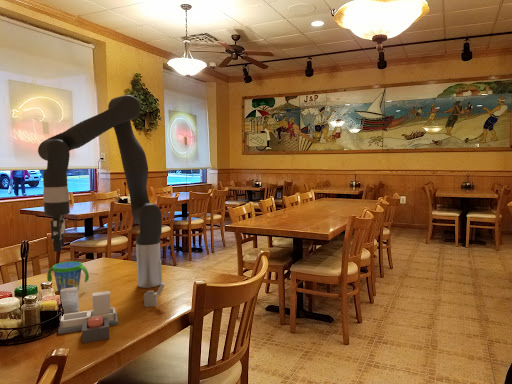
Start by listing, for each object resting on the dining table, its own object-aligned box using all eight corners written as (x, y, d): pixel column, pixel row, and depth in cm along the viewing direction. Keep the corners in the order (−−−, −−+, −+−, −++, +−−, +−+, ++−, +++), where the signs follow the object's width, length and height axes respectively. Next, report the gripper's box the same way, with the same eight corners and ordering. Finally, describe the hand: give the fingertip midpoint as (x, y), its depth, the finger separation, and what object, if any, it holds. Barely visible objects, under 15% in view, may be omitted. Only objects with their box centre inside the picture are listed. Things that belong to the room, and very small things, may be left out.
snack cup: (94, 286, 154) (93, 261, 154) (78, 295, 144) (77, 269, 143) (59, 284, 157) (58, 260, 156) (41, 293, 146) (39, 267, 146)
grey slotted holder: (116, 313, 127) (115, 287, 126) (117, 324, 118) (116, 296, 118) (61, 322, 120) (59, 294, 120) (58, 334, 112) (56, 304, 111)
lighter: (144, 306, 133) (143, 284, 132) (145, 304, 134) (144, 282, 134) (165, 305, 133) (164, 283, 133) (165, 303, 135) (165, 281, 134)
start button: (103, 323, 113) (102, 315, 113) (103, 328, 110) (103, 320, 109) (88, 325, 112) (88, 317, 112) (88, 331, 108) (87, 322, 108)
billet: (78, 309, 130) (77, 286, 130) (78, 312, 128) (77, 289, 127) (62, 312, 129) (61, 288, 128) (61, 315, 126) (60, 291, 125)
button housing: (108, 328, 115) (108, 317, 115) (109, 338, 109) (109, 326, 109) (83, 332, 113) (82, 321, 113) (82, 343, 106) (81, 331, 106)
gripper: (66, 201, 122) (69, 252, 123) (71, 197, 135) (73, 243, 136) (40, 203, 119) (43, 254, 120) (47, 198, 132) (49, 245, 134)
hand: (59, 248), depth 128 cm, fingers open, 8 cm apart
